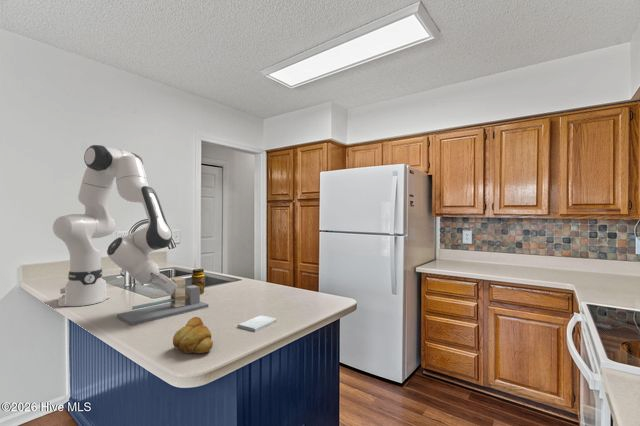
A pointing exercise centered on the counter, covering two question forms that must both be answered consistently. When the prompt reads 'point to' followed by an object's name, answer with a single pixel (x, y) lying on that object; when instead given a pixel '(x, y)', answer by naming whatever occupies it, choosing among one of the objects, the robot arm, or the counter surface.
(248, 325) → the hard drive
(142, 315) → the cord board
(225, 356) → the counter surface
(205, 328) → the bread roll
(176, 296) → the notched wooden block
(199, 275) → the condiment
